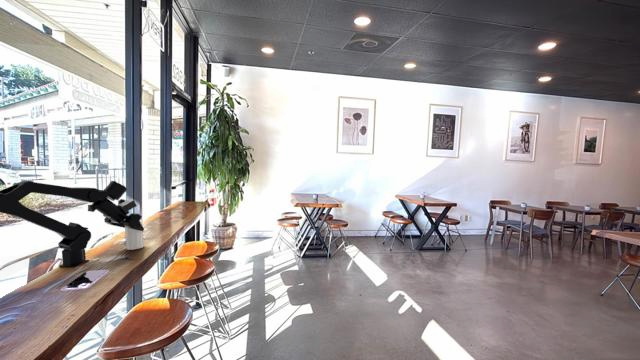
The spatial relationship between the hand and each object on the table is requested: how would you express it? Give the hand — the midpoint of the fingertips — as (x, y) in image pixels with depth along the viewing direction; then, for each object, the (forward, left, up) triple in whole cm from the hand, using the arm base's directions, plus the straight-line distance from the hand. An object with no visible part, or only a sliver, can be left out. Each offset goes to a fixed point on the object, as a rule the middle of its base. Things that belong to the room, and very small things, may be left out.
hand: (137, 229), depth 132 cm
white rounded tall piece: (-1, +1, -8) cm, 8 cm away
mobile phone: (-35, -7, -9) cm, 37 cm away
